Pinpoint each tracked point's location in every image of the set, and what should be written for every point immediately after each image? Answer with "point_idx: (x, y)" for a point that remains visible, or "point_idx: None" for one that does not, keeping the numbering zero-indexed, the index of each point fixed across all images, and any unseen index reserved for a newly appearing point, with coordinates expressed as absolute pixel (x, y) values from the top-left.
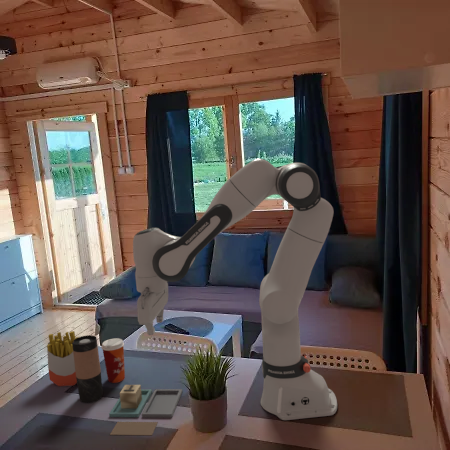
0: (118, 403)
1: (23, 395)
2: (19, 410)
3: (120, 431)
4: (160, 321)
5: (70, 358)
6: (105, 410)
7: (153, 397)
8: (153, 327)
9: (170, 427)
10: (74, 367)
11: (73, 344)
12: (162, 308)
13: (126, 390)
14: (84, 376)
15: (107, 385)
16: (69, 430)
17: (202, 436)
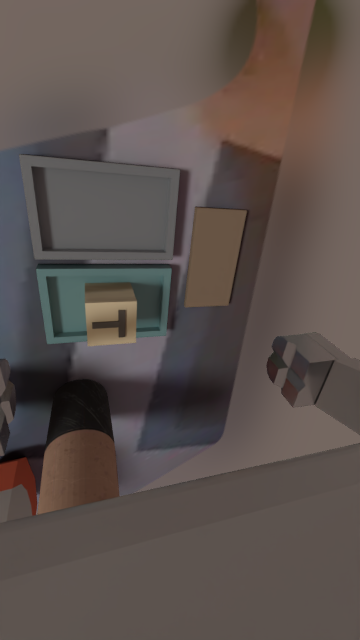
0: None
1: None
2: (130, 479)
3: (221, 288)
4: (5, 377)
5: None
6: (130, 350)
7: (83, 251)
8: (348, 365)
9: (213, 166)
10: (15, 496)
11: None
12: (9, 534)
13: (123, 330)
14: (114, 451)
15: None
16: (196, 380)
17: (268, 49)
